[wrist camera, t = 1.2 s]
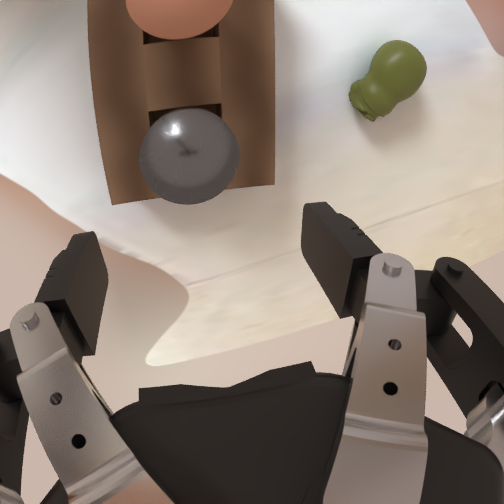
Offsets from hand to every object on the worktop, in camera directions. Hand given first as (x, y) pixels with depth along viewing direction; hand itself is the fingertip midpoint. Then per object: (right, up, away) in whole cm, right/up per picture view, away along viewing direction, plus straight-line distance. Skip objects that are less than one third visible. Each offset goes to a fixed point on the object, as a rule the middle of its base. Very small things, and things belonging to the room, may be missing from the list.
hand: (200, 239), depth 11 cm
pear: (+15, +18, +17) cm, 29 cm away
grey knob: (-3, +8, +12) cm, 15 cm away
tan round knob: (-4, +18, +6) cm, 19 cm away
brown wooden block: (-4, +15, +13) cm, 21 cm away
